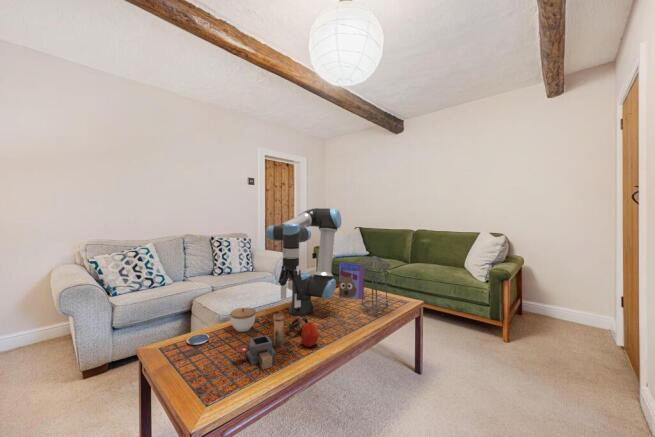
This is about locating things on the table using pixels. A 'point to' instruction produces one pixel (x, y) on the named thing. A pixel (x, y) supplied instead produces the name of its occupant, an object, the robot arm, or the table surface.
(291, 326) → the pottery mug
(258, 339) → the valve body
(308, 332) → the apple
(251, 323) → the lidded bowl
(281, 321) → the pipe fitting
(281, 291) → the robot arm
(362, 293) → the geometric lantern
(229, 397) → the table surface
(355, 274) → the cereal box
